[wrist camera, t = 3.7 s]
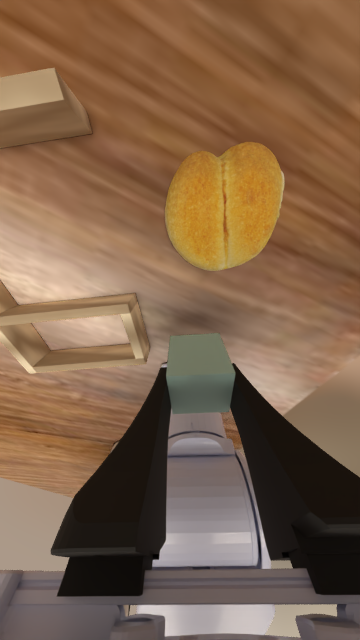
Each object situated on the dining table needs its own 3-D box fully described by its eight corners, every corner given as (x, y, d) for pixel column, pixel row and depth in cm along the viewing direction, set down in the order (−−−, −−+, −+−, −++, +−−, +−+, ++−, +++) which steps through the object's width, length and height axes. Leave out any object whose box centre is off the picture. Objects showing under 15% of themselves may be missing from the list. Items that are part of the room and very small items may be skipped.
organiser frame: (150, 347, 20) (145, 364, 18) (47, 356, 21) (29, 373, 18) (86, 111, 10) (53, 67, 7) (-111, 144, 11) (-205, 115, 8)
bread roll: (158, 167, 12) (149, 137, 8) (275, 146, 11) (319, 105, 8) (173, 273, 16) (172, 284, 12) (259, 262, 15) (283, 270, 12)
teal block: (216, 367, 14) (229, 411, 10) (174, 369, 14) (172, 414, 10) (219, 333, 12) (235, 372, 8) (170, 335, 12) (166, 376, 8)
